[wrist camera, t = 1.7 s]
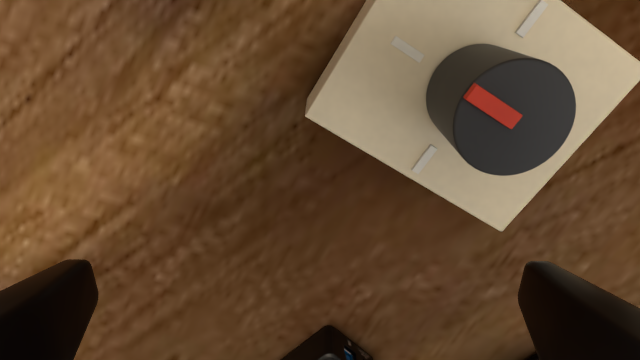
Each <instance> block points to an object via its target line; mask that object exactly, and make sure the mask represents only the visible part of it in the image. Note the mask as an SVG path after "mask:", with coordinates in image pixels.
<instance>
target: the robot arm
mask: <svg viewBox="0 0 640 360" xmlns="http://www.w3.org/2000/svg"><path fill="white" fill-rule="evenodd" d="M97 302H98V289H97V285H96V281H95V277H94V274H93V270H92V266H91V264H90V262H89V261H87V260H65V261H62V262H60V263H58V264H56V265H54V266H52V267H50V268H48V269H46V270H44V271H41V272H39V273H37V274H35V275H33V276H31V277H29V278H27V279H25V280H22V281H20V282H18V283H16V284H14V285H12V286H10V287H8V288H6V289H4V290H1V291H0V360H73V359H74V357H75V355H76V352H77V350H78V348H79V345H80V343H81V340H82V338H83V336H84V333H85V331H86V329H87V326H88V324H89V321H90V319H91V317H92V314H93V312H94V310H95V307H96V305H97ZM518 302H519V306H520V309H521V312H522V314H523V317H524V320H525V322H526V325H527V328H528V330H529V333H530V336H531V338H532V341H533V344H534V347H535V349H536V352H537V354H535V355H534V356H533V357H531V358H530V359H528V360H640V308H638V307H636V306H634V305H632V304H630V303H628V302H626V301H624V300H622V299H621V298H619V297H617V296H615V295H613V294H611V293H609V292H607V291H605V290H603V289H601V288H599V287H597V286H595V285H593V284H592V283H590V282H588V281H586V280H584V279H582V278H580V277H578V276H576V275H574V274H572V273H570V272H568V271H566V270H564V269H562V268H561V267H559V266H557V265H555V264H553V263H551V262H547V261H530V262H528V263H527V264H526V265H525V268H524V271H523V276H522V280H521V284H520V288H519V292H518Z"/></svg>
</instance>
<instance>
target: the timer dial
mask: <svg viewBox="0 0 640 360" xmlns="http://www.w3.org/2000/svg"><path fill="white" fill-rule="evenodd" d="M426 106H427V111H428V114H429V117H430V118H431V120H432V122H433V123H434V125H435V126H436V127H437V129H438V130H439V131H440V132H441V133H442V134H443V136H444V137H445V138H446V139H447V140H448V141H449V143H450V144H451V145H452V146H453V147H454V148H455V150H456V151H457V152H458V153H459V154H460V156H461V157H462V158H463V159H464V160H465V161H466V162H467V163H468V164H469V165H471V166H472V167H473V168H475V169H477V170H479V171H481V172H484V173H487V174H491V175H498V176H509V175H516V174H520V173H524V172H527V171H529V170H532V169H534V168H536V167H538V166H540V165H541V164H543V163H544V162H546V161H547V160H548V159H549V158H551V157H552V156H553V155H554V154H555V153H556V152H557V151H558V150H559V149H560V147H561V146H562V145H563V144H564V142H565V141H566V139H567V137H568V135H569V133H570V131H571V129H572V126H573V123H574V119H575V115H576V99H575V94H574V90H573V88H572V85H571V83H570V82H569V80H568V78H567V77H566V76H565V74H564V73H563V72H562V71H561V70H559V69H558V68H557V67H556V66H554V65H552V64H551V63H548V62H546V61H544V60H541V59H537V58H534V57H531V56H528V55H525V54H521V53H518V52H515V51H512V50H509V49H505V48H502V47H499V46H496V45H492V44H473V45H469V46H465V47H463V48H460V49H458V50H456V51H455V52H453V53H451V54H450V55H449V56H447V57H446V58H445V59H444V60H443V61H442V62H441V63H440V64H439V66H438V67H437V68H436V69H435V71H434V73H433V74H432V76H431V79H430V81H429V84H428V87H427V92H426Z"/></svg>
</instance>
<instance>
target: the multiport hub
mask: <svg viewBox="0 0 640 360" xmlns="http://www.w3.org/2000/svg"><path fill="white" fill-rule="evenodd" d="M282 360H373V359H372V357H371V356H370V355H368V354H367V353H366V352H365V351H363V350H362V349H361V348H359V347H358V346H357V345H356V344H354V343H353V342H352V341H350V340H349V339H348V338H347V337H345V336H344V335H343V334H342V333H340V332H339V331H338V330H336V329H335V328H334V327H332V326H325V327H324V328H322V329H321V330H320V331H318V332H317V333H316V334H314V335H313V336H312V337H310V338H309V339H308V340H306V341H305V342H304V343H303V344H301V345H300V346H299V347H297V348H296V349H295V350H293V351H292V352H291V353H289V354H288V355H287V356H286V357H284V358H283V359H282Z"/></svg>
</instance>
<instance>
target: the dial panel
mask: <svg viewBox="0 0 640 360" xmlns="http://www.w3.org/2000/svg"><path fill="white" fill-rule="evenodd" d="M473 44H492V45H496V46H499V47H502V48H505V49H509V50H512V51H515V52H518V53H521V54H525V55H528V56H531V57H534V58H537V59H541V60H544V61H546V62H548V63H551V64H552V65H554V66H556V67H557V68H558V69H559V70H561V71H562V72H563V73H564V74H565V76H566V77H567V78H568V80H569V82H570V83H571V85H572V88H573V90H574V94H575V99H576V115H575V119H574V123H573V126H572V129H571V131H570V133H569V135H568V137H567V139H566V141H565V142H564V144H563V145H562V146H561V147H560V149H559V150H558V151H557V152H556V153H555V154H554V155H553V156H552V157H551V158H549V159H548V160H547V161H546V162H544V163H543V164H541V165H540V166H538V167H536V168H534V169H532V170H529V171H527V172H524V173H520V174H516V175H509V176H498V175H491V174H487V173H484V172H481V171H479V170H477V169H475V168H473V167H472V166H471V165H469V164H468V163H467V162H466V161H465V160H464V159H463V158H462V157H461V156H460V154H459V153H458V152H457V151H456V150H455V148H454V147H453V146H452V145H451V144H450V143H449V141H448V140H447V139H446V138H445V137H444V136H443V134H442V133H441V132H440V131H439V130H438V129H437V127H436V126H435V125H434V123H433V122H432V120H431V118H430V117H429V114H428V111H427V106H426V92H427V87H428V84H429V81H430V79H431V76H432V74H433V73H434V71H435V69H436V68H437V67H438V66H439V64H440V63H441V62H442V61H443V60H444V59H445V58H446V57H447V56H449V55H450V54H451V53H453V52H455V51H456V50H458V49H460V48H463V47H465V46H469V45H473ZM639 80H640V61H638V60H637V59H636V58H634V57H633V56H632V55H631V54H629V53H628V52H627V51H625V50H624V49H623V48H621V47H620V46H619V45H618V44H616V43H615V42H614V41H612V40H611V39H610V38H609V37H607V36H606V35H605V34H603V33H602V32H601V31H599V30H598V29H597V28H596V27H594V26H593V25H592V24H590V23H589V22H588V21H587V20H585V19H584V18H583V17H581V16H580V15H579V14H577V13H576V12H575V11H574V10H572V9H571V8H570V7H568V6H567V5H566V4H564V3H563V2H562V1H561V0H366V2H365V3H364V5H363V7H362V8H361V10H360V12H359V13H358V15H357V17H356V18H355V20H354V22H353V23H352V25H351V27H350V28H349V30H348V32H347V33H346V35H345V37H344V38H343V40H342V42H341V43H340V45H339V47H338V48H337V50H336V52H335V53H334V55H333V57H332V58H331V60H330V62H329V63H328V65H327V67H326V68H325V70H324V72H323V73H322V75H321V76H320V78H319V80H318V81H317V83H316V85H315V86H314V88H313V90H312V91H311V93H310V95H309V96H308V98H307V103H306V111H305V117H307V118H309V119H310V120H312V121H314V122H315V123H317V124H319V125H320V126H322V127H324V128H326V129H327V130H329V131H331V132H332V133H334V134H336V135H337V136H339V137H341V138H343V139H344V140H346V141H348V142H349V143H351V144H353V145H354V146H356V147H358V148H360V149H361V150H363V151H365V152H366V153H368V154H370V155H371V156H373V157H375V158H377V159H378V160H380V161H382V162H383V163H385V164H387V165H388V166H390V167H392V168H394V169H395V170H397V171H399V172H400V173H402V174H404V175H405V176H407V177H409V178H411V179H412V180H414V181H416V182H417V183H419V184H421V185H422V186H424V187H426V188H428V189H429V190H431V191H433V192H434V193H436V194H438V195H439V196H441V197H443V198H445V199H446V200H448V201H450V202H451V203H453V204H455V205H456V206H458V207H460V208H462V209H463V210H465V211H467V212H468V213H470V214H472V215H473V216H475V217H477V218H479V219H480V220H482V221H484V222H485V223H487V224H489V225H490V226H492V227H494V228H496V229H497V230H499V231H501V232H502V231H503V230H504V229H505V228H506V227H507V225H508V224H509V223H510V222H511V221H512V220H513V219H514V218H515V217H516V216H517V214H518V213H519V212H520V211H521V210H522V209H523V208H524V207H525V206H526V205H527V203H528V202H529V201H530V200H531V199H532V198H533V197H534V196H535V195H536V194H537V192H538V191H539V190H540V189H541V188H542V187H543V186H544V185H545V184H546V183H547V181H548V180H549V179H550V178H551V177H552V176H553V175H554V174H555V173H556V172H557V171H558V169H559V168H560V167H561V166H562V165H563V164H564V163H565V162H566V161H567V160H568V158H569V157H570V156H571V155H572V154H573V153H574V152H575V151H576V150H577V149H578V147H579V146H580V145H581V144H582V143H583V142H584V141H585V140H586V139H587V138H588V136H589V135H590V134H591V133H592V132H593V131H594V130H595V129H596V128H597V127H598V125H599V124H600V123H601V122H602V121H603V120H604V119H605V118H606V117H607V116H608V115H609V113H610V112H611V111H612V110H613V109H614V108H615V107H616V106H617V105H618V104H619V102H620V101H621V100H622V99H623V98H624V97H625V96H626V95H627V94H628V93H629V91H630V90H631V89H632V88H633V87H634V86H635V85H636V84H637V83H638V82H639Z"/></svg>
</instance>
